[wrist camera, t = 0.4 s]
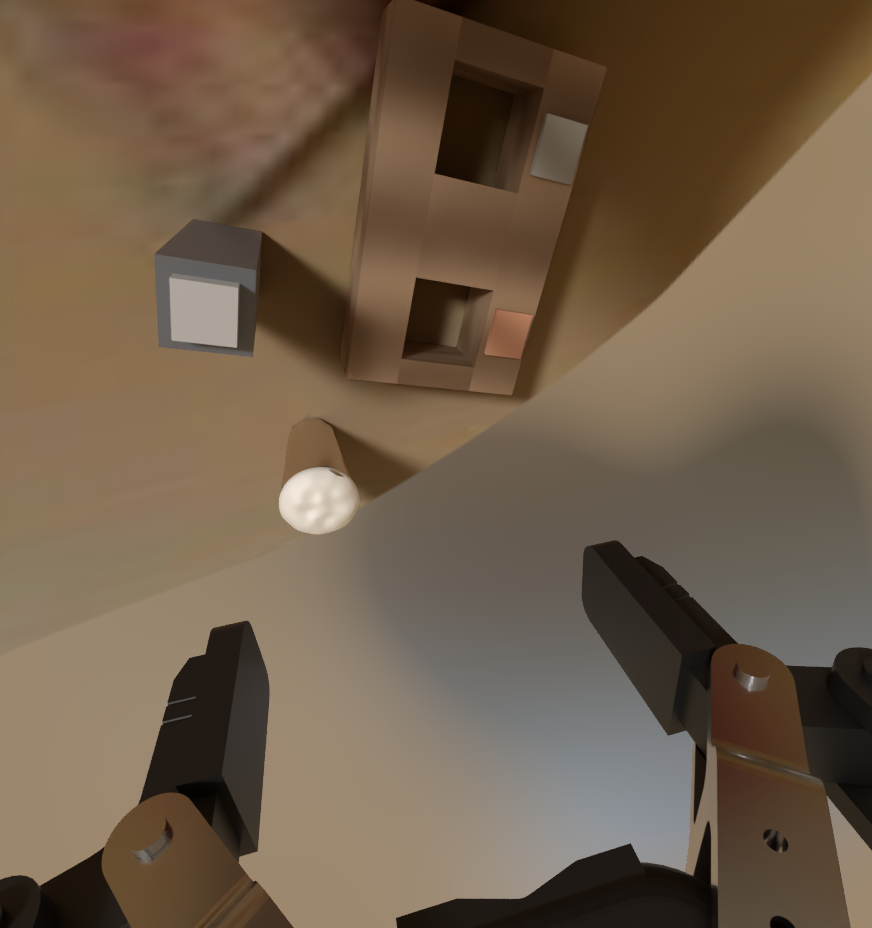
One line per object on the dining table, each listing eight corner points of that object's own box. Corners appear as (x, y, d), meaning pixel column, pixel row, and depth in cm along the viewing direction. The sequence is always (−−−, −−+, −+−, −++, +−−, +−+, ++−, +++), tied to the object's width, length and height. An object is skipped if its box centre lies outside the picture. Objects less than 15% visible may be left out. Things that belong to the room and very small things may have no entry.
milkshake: (356, 408, 37) (380, 485, 29) (332, 471, 39) (347, 559, 31) (293, 389, 35) (297, 466, 27) (270, 456, 37) (269, 546, 29)
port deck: (381, 13, 26) (398, -8, 23) (570, 75, 30) (610, 66, 26) (340, 356, 35) (347, 380, 31) (491, 373, 38) (513, 397, 35)
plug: (193, 219, 29) (150, 257, 19) (262, 231, 30) (255, 274, 20) (194, 286, 30) (155, 353, 21) (259, 295, 31) (251, 363, 22)
